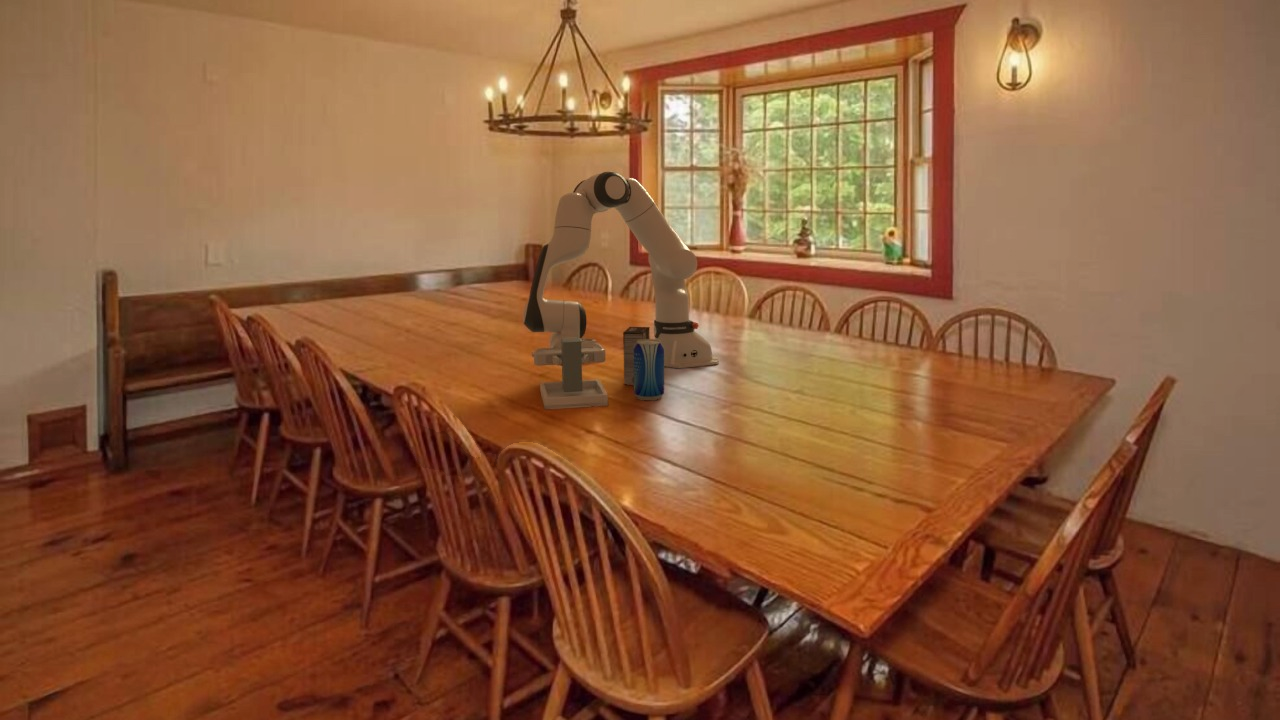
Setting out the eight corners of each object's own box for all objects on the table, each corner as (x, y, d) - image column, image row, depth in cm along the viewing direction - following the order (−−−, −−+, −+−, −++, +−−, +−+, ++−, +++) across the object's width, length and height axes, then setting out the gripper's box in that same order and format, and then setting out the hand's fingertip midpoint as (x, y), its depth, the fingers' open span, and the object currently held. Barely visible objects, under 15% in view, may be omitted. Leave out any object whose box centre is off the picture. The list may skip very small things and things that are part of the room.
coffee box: (630, 377, 242) (629, 326, 238) (650, 378, 241) (650, 326, 237) (623, 384, 233) (622, 331, 230) (644, 385, 232) (644, 332, 228)
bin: (599, 389, 229) (598, 379, 228) (608, 405, 212) (607, 394, 212) (540, 392, 226) (540, 382, 225) (544, 409, 209) (544, 398, 209)
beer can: (633, 393, 224) (632, 338, 220) (662, 392, 224) (662, 338, 221) (635, 402, 215) (634, 345, 212) (665, 401, 216) (665, 344, 213)
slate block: (580, 386, 221) (579, 337, 218) (582, 391, 216) (581, 341, 213) (562, 387, 220) (561, 338, 217) (564, 392, 215) (562, 342, 212)
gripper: (530, 342, 226) (533, 352, 213) (601, 339, 230) (608, 349, 217) (531, 363, 228) (534, 375, 214) (601, 360, 231) (608, 371, 218)
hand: (572, 362), depth 216 cm, fingers closed on slate block, 5 cm apart
